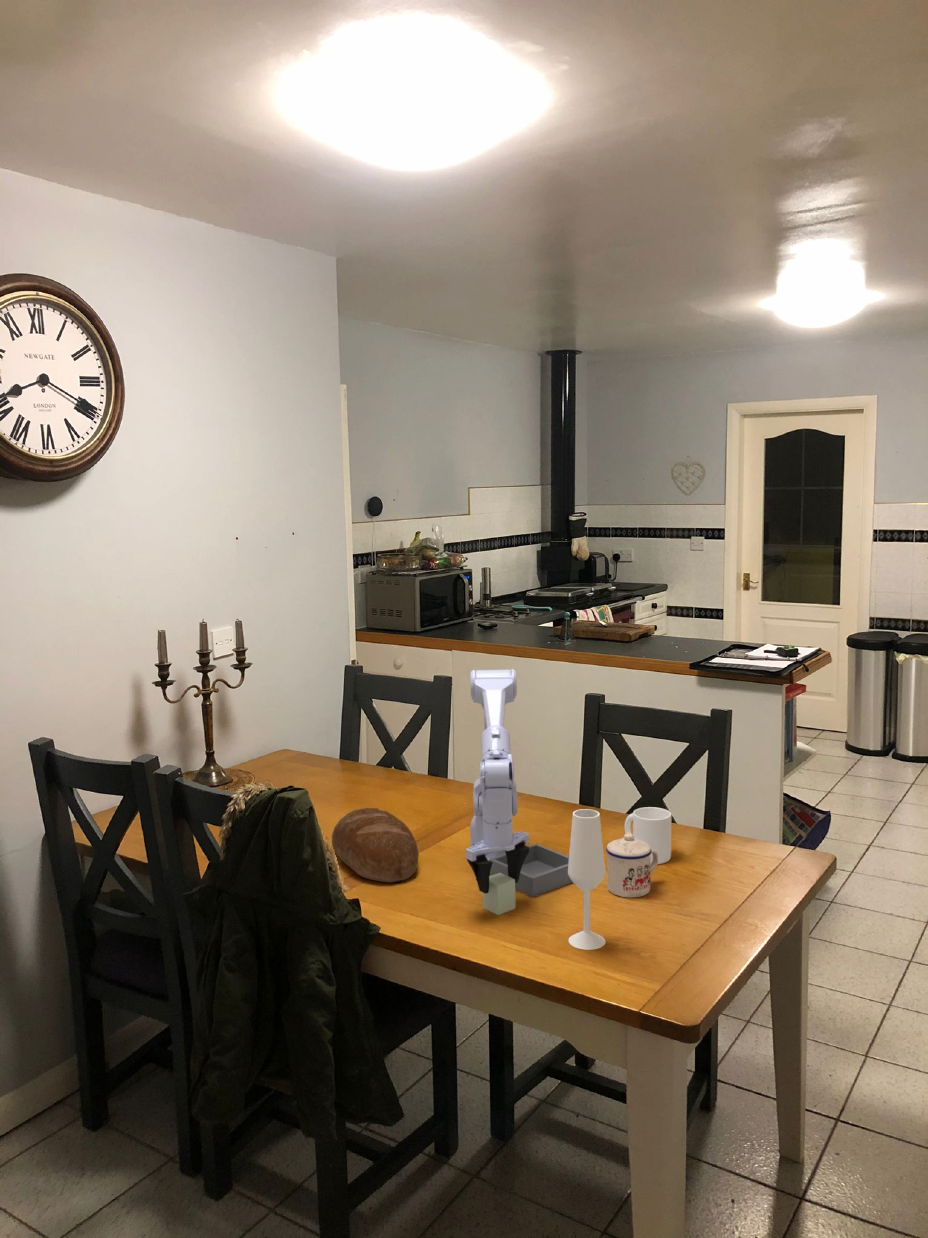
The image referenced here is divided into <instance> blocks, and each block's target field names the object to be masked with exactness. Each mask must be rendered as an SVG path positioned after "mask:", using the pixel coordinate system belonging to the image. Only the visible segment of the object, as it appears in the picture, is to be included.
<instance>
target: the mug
mask: <svg viewBox="0 0 928 1238" xmlns="http://www.w3.org/2000/svg"><path fill="white" fill-rule="evenodd" d="M631 826H632V830H631ZM624 832H625V834H627V833H630V834H633V836H634V838H636V839H638V840H640V841H643V842H646V843H647V844H648V845H649V846H650V847H651V849H652V850H654V851H656V852H657V854H658V863H657V865H661V864H665V863H667V862H669V861H670V859H671V858H672V813H671V811H669V810H668V809H666V808H661V807H656V806H654V807H652V806H648V807H647V806H646V807H645V806H644V807H639V808H637V809H634V810H633V812H632V813H630V814H628V816H627V817H626V819H625V821H624ZM652 861H653V854H650V865H651V864H652Z"/></svg>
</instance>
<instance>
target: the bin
mask: <svg viewBox="0 0 928 1238" xmlns="http://www.w3.org/2000/svg"><path fill="white" fill-rule="evenodd" d="M527 846H528V847H529V853H528V855H527V856H526V858H525V860H524V862H523V865H522V868H521V872H520V876H519V880H518V882H517V883H515V891H516V890H517V892H521V893H523V894H524V895H527V896H528V897H531V898H536V897H538V896H541V895H543V894H545V893H549V892H551V891H553V890H556V889H559V888H561V887H564V886H567V885H569V884H572V883H573V882H572V880H571V879H570V877H569V875H568V863H569V855H566V854H564V853H562V852H559V851H557V850H554V849H552V848H549V847H546V846H544V845H542V844H539V843H537V842H536V843H533V844H531V845H527ZM489 861H491V862H493V863H492V866H491V870H490V876H492V875H495V874H498V873H502V874H504V875H506V876H508V864H507V857H506V854H503V855H500V856H497V857H494V858H491V859H489ZM573 884H574V883H573Z"/></svg>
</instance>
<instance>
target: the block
mask: <svg viewBox="0 0 928 1238" xmlns="http://www.w3.org/2000/svg"><path fill="white" fill-rule="evenodd" d="M482 908H483V909H485V910H486V911H488V912H491V913H493V914H494V915H496V916H499V915H502V914H504V913H507V912H510V911H514V910H515V909H516V889H515V879H513V878H511V877H508V876H506V875H504V874H502V873H498V874H495V875H492V876H489V892H488V893H486V894H485V893H483V892H482Z"/></svg>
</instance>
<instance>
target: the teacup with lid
mask: <svg viewBox="0 0 928 1238" xmlns="http://www.w3.org/2000/svg"><path fill="white" fill-rule="evenodd" d="M605 851H606V852H607V855H606V856H607V862H606V863H607V866H606V868H607V870H606V871H607V874H606V875H607V881H606V882H607V885H606V886H607V889H608V891H609V892H610V893H612V894H613V895H616V896H618V897H621V898H632V899H633V898H639V897H644V896H646V895H647V894H649V892H650V891H651V874H652V873H653V872H654V871H655V870H656V868H657V865H658V864H657V863H658V854H657V852H656V851H654V850H652V849H651V847H650V846H649V845H648V844H647V843H646V842H643V841H640V840H638V839H636V838H634V836H633V833H632V834H630V833H627V834H626V833H625V834H624V835H623V837H622V838H619V839H615V840H612V841H610V842H609V843H608V844H607V845H606V848H605ZM650 854H653V861H652V864H650Z"/></svg>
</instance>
